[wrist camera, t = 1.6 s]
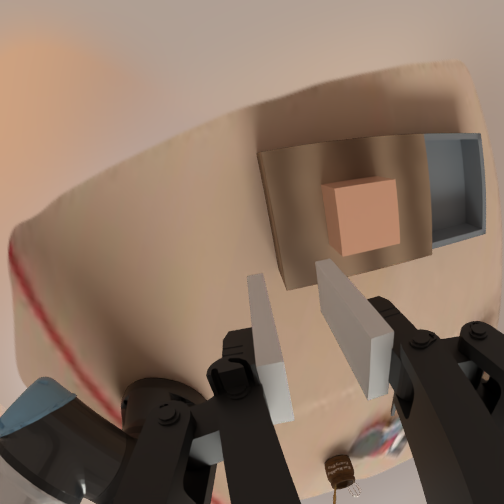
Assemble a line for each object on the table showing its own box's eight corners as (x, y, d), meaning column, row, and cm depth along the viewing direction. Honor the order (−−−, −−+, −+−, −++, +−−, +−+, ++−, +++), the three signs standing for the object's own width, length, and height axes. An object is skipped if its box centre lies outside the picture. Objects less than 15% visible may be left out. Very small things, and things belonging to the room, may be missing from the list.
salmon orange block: (329, 244, 29) (342, 256, 25) (320, 184, 27) (334, 188, 23) (381, 232, 29) (400, 243, 25) (375, 176, 27) (395, 179, 23)
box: (408, 240, 35) (426, 250, 31) (398, 135, 31) (417, 134, 27) (466, 226, 35) (485, 233, 31) (460, 133, 31) (480, 133, 27)
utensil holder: (351, 460, 51) (364, 500, 40) (325, 470, 52) (336, 510, 40) (347, 451, 49) (361, 493, 38) (319, 461, 50) (331, 504, 38)
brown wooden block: (278, 269, 36) (286, 290, 30) (256, 153, 31) (261, 152, 26) (407, 240, 35) (431, 254, 30) (397, 135, 31) (423, 133, 25)
